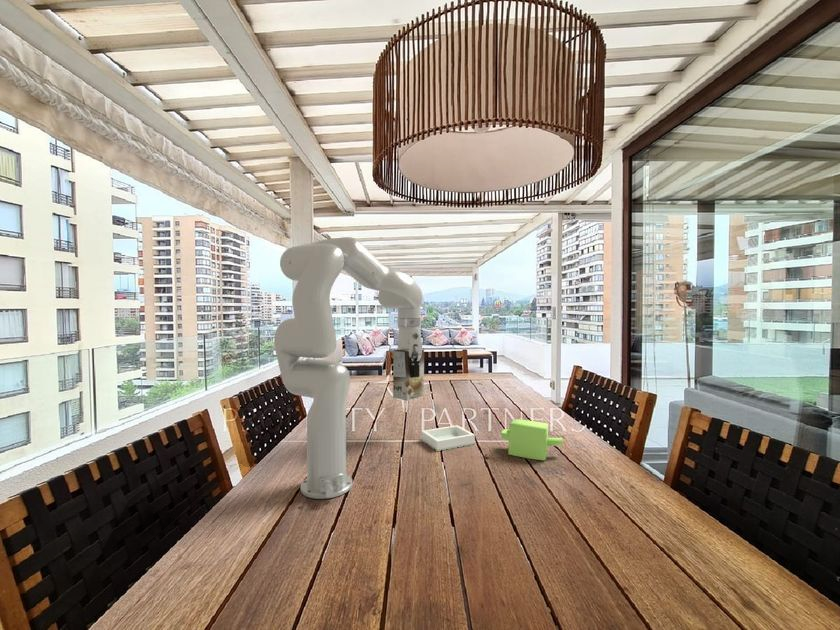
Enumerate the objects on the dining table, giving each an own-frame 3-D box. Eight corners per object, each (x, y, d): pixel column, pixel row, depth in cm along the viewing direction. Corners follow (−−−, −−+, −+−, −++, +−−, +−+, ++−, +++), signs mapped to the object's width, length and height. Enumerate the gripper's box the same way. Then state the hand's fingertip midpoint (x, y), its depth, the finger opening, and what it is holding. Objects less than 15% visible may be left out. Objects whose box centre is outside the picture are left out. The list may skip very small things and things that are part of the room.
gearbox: (563, 453, 119) (564, 423, 119) (561, 464, 110) (562, 431, 110) (504, 444, 126) (505, 415, 126) (498, 453, 117) (499, 422, 117)
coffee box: (407, 401, 124) (407, 351, 124) (392, 398, 128) (392, 350, 128) (424, 396, 132) (424, 349, 131) (410, 393, 136) (410, 348, 135)
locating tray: (474, 444, 125) (474, 434, 125) (437, 451, 119) (437, 441, 119) (457, 434, 135) (457, 425, 135) (421, 440, 129) (421, 430, 129)
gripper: (431, 324, 123) (430, 378, 124) (407, 322, 139) (407, 370, 139) (410, 324, 120) (409, 380, 120) (388, 322, 135) (388, 371, 136)
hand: (408, 374), depth 130 cm, fingers closed on coffee box, 8 cm apart
